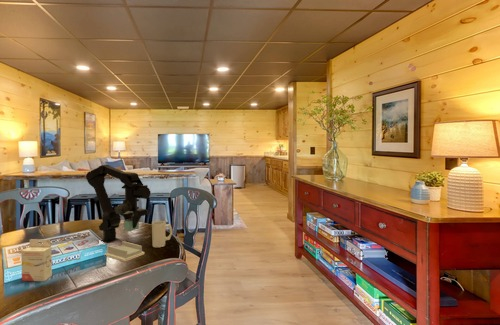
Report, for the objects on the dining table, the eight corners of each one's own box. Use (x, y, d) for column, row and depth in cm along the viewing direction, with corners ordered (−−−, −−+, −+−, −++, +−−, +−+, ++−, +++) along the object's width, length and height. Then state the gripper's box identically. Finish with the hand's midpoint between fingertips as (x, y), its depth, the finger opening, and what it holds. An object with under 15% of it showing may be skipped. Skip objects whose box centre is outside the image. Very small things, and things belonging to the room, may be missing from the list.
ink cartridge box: (21, 281, 114) (19, 242, 113) (30, 275, 119) (29, 238, 118) (44, 281, 114) (43, 242, 113) (52, 275, 119) (51, 238, 118)
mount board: (104, 255, 141) (104, 246, 141) (124, 248, 151) (124, 240, 151) (124, 261, 134) (124, 252, 134) (144, 254, 144) (144, 245, 144)
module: (129, 231, 154) (129, 220, 154) (123, 230, 156) (123, 219, 156) (138, 228, 159) (138, 218, 159) (133, 227, 161) (133, 217, 161)
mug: (151, 248, 152) (151, 224, 152) (152, 244, 159) (152, 221, 158) (172, 247, 155) (172, 223, 154) (172, 242, 161) (172, 220, 161)
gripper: (105, 198, 155) (105, 228, 156) (129, 201, 145) (130, 234, 146) (124, 195, 164) (124, 223, 165) (148, 198, 155) (148, 228, 156)
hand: (131, 227), depth 158 cm, fingers closed on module, 4 cm apart
